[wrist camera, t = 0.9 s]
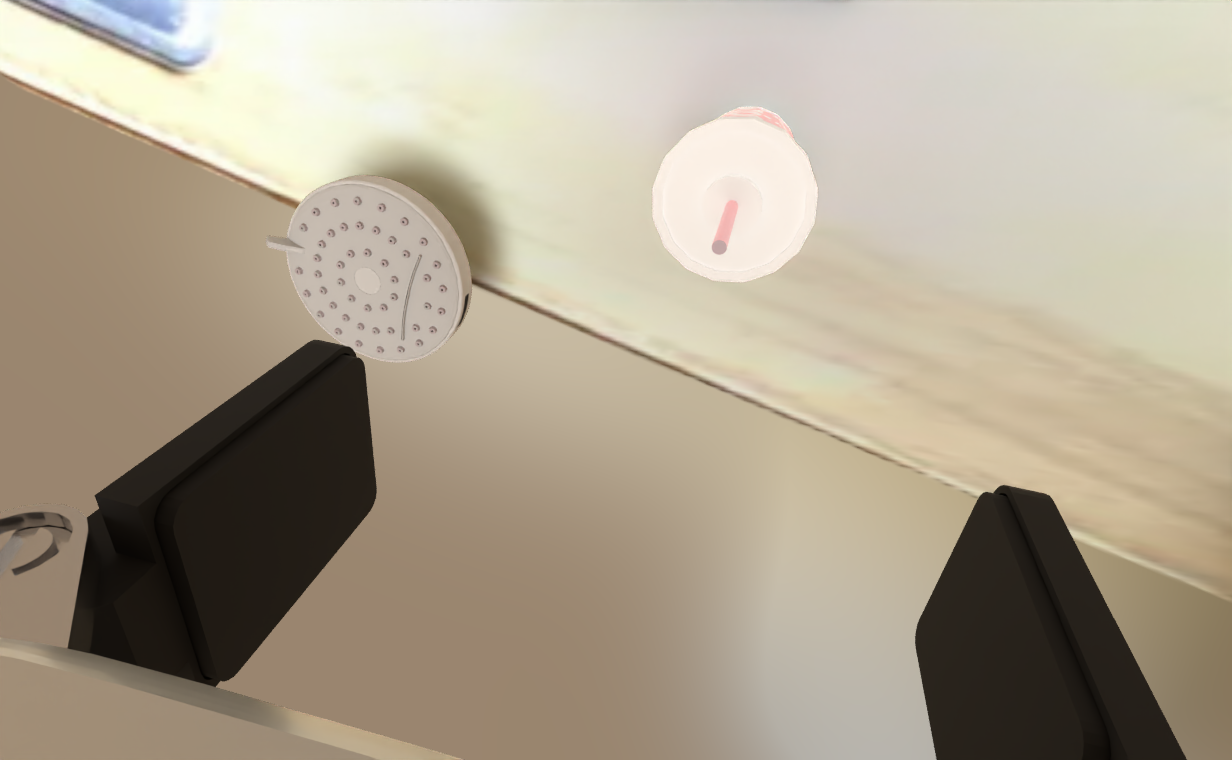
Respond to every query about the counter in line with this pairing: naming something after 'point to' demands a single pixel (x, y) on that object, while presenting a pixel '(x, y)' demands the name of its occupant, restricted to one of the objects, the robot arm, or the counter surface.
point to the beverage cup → (735, 196)
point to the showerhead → (378, 267)
